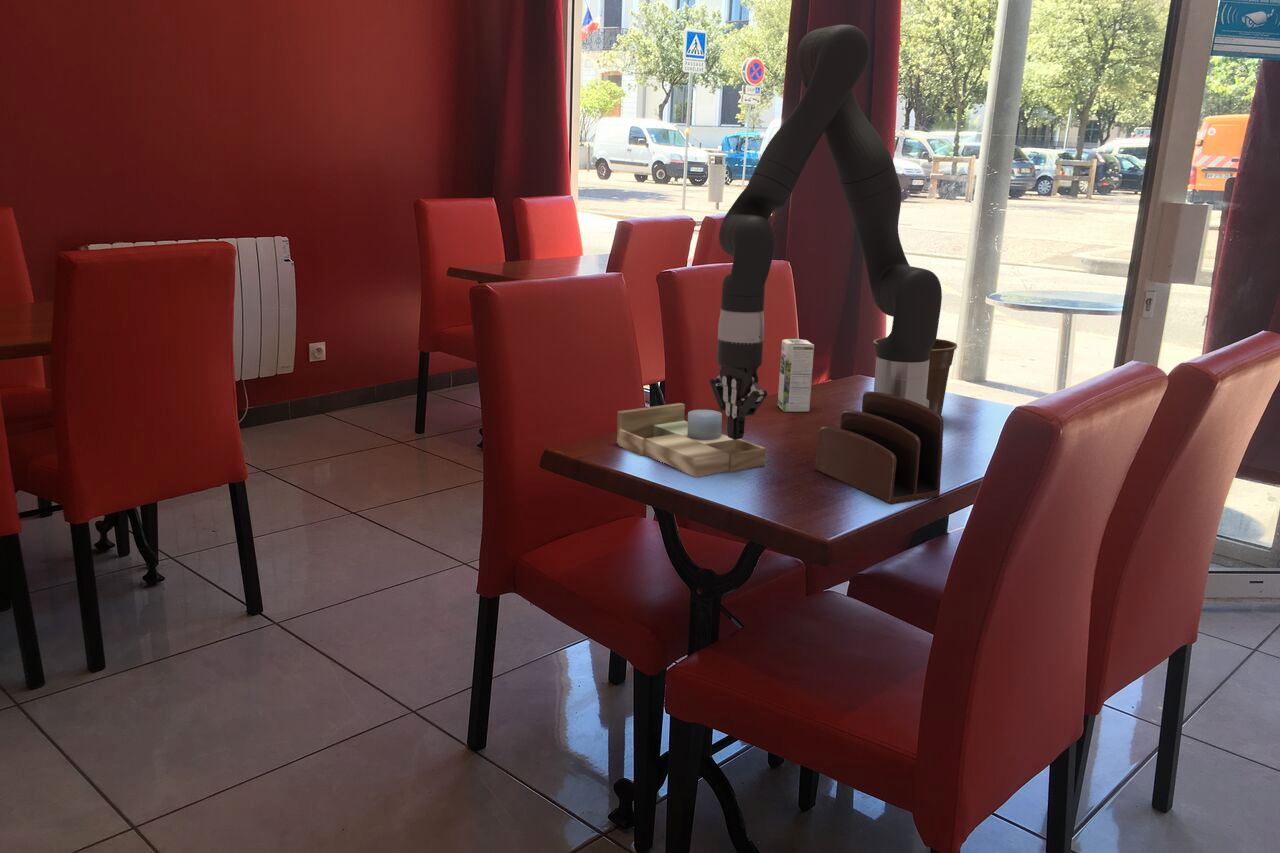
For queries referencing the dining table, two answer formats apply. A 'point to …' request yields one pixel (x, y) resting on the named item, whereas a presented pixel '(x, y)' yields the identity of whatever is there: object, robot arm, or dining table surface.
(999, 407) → the dining table surface
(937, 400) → the plant pot
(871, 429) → the letter holder
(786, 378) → the syrup box
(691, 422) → the grey rounded block
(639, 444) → the tray
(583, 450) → the dining table surface
